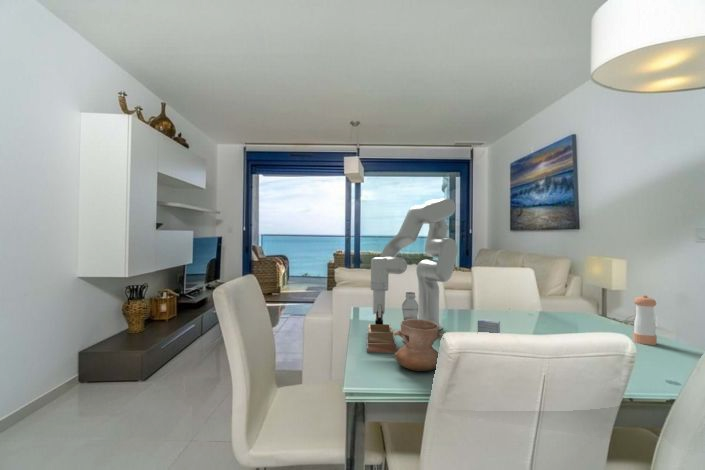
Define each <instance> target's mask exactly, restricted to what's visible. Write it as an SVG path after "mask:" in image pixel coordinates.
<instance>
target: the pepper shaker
mask: <svg viewBox="0 0 705 470" xmlns="http://www.w3.org/2000/svg"><path fill="white" fill-rule="evenodd" d="M633 302H634V305H635V306H636V307H635V319H634V322H633V325H634V327H633V328H634V331H633V332H632V335H633V336H632V340H633V342H635V343H637V344H640V345H641V344H642V345H647V346H656V345H657V343H658V340H657V336H658V335H656V328H657V327H656V321H655V315H654V314H655V313H654V312H655V309H654V307H655V306H657V302H656V300H655V299H654V298H652V297H649V296H648V295H646V294H645V295H644V294H643V295H642V296H638V297H635V298H634V299H633Z"/></svg>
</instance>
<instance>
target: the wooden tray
mask: <svg viewBox="0 0 705 470" xmlns="http://www.w3.org/2000/svg"><path fill="white" fill-rule="evenodd" d="M365 338H366V339H365V340H366V343H365V344H366V345H365V346H366V353H387V354H388V353H392V354H393V353H394V354H395V353H396V352H397V351H398V350H399V349H398V345H397V342H396V339H395V338H396V337H395V335H394V334H393V344H386V343H369V338H368V329H365Z"/></svg>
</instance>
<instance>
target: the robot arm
mask: <svg viewBox="0 0 705 470" xmlns="http://www.w3.org/2000/svg"><path fill="white" fill-rule="evenodd" d="M455 211H456V203H455V202H454V200H453V199H451V198H448V197H447V198H438V199H430V200H428V201H425V202H424V203H423V204H420V205H419V204H418V205H414V206H411V207H410V208H409V209H408V211H407V213H406V216H405V217H404V219H403V221H402V224H401V227H400V228H399V230H398V232H397V234H396V235H394V236H393V238H391V239H390V240H389V241H388V243H386V245H385V246H384V248H383V250H382V251H381V254H380V256H376V257H372V258H371V259H370V290H371V291H372V314H373V315H375V321H374V324H384V319H383V315H385V311H386V292H388V291H389V275H392V274H393V275H401V274H402V275H403V274H404V273H405V272H406V270H407V269H408V263H407V261H406V259H404V258H403V257H400V256H397V255H398V254H399V252H400V251H402V250H403V249H404V248H407V247H408V246H410V245H412V244H414V243H415V242H416V241H417V238H418V237H419V233H420V232H421V229H422V228H423V225H428V232H427V238H426V240H425V246H424V254H425V255H426V256H428V257H429V259H427V258H426V259H423V260H421V261H419V262H418V263H417V265H416V277H417V283H418V284H417V285H418V286H417V287H418V302H417V303H418V306H419V309H418V317H417V319H424V320H429V321H433V322H435V323H437V324H438V325H439V328H438V331H440V330H442V329H443V324H441V323H440V287H439V284H438V282H439V283H446V282H448V281H449V280H451V278H452V276H453V272H454V269H455V263H456V260H457V255H458V245H457V242H456V241H455V239H453V238H451V237H447V234H448V225H447V221H446V219H447V218H449V217H451V216H453V215H454V214H455ZM430 258H434V259H430ZM435 258H437V259H435Z"/></svg>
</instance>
